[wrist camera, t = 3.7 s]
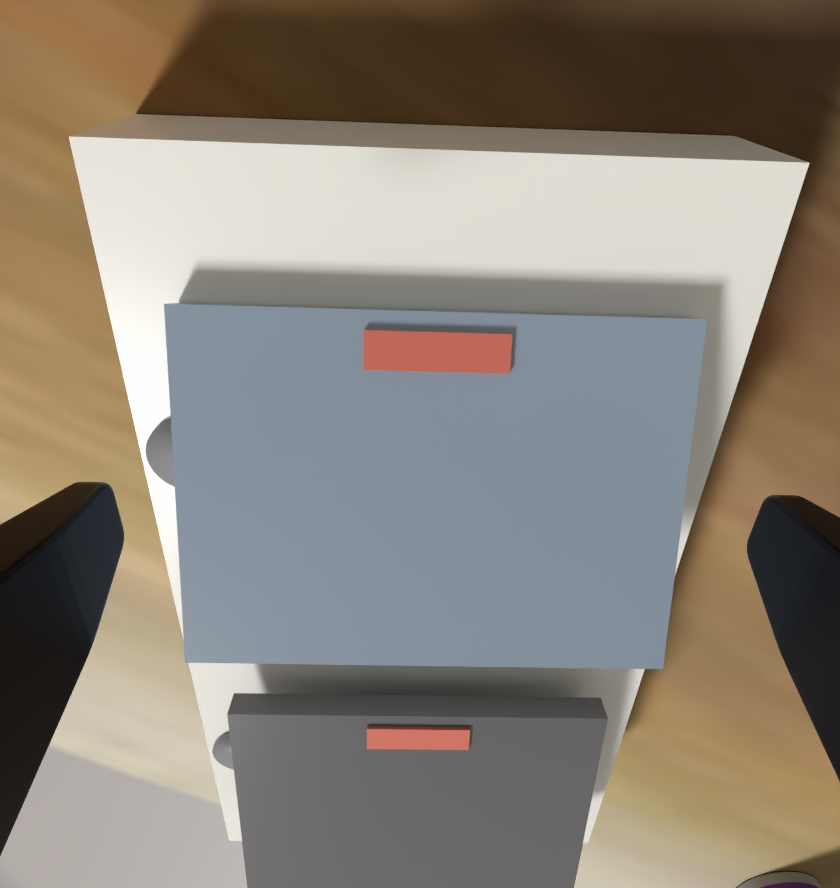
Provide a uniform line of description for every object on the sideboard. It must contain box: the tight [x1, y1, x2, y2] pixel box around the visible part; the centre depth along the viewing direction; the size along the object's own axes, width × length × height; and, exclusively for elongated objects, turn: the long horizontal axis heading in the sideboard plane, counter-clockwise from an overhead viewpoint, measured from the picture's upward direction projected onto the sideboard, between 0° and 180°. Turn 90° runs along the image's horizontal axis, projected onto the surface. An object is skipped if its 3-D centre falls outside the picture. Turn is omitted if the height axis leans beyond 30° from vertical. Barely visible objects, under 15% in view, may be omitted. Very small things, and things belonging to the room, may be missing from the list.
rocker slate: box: [164, 303, 707, 669], centre depth 15 cm, size 11×8×2 cm
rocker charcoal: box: [227, 693, 608, 888], centre depth 22 cm, size 11×8×2 cm
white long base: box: [69, 114, 809, 843], centre depth 21 cm, size 14×25×4 cm, turn 178°
